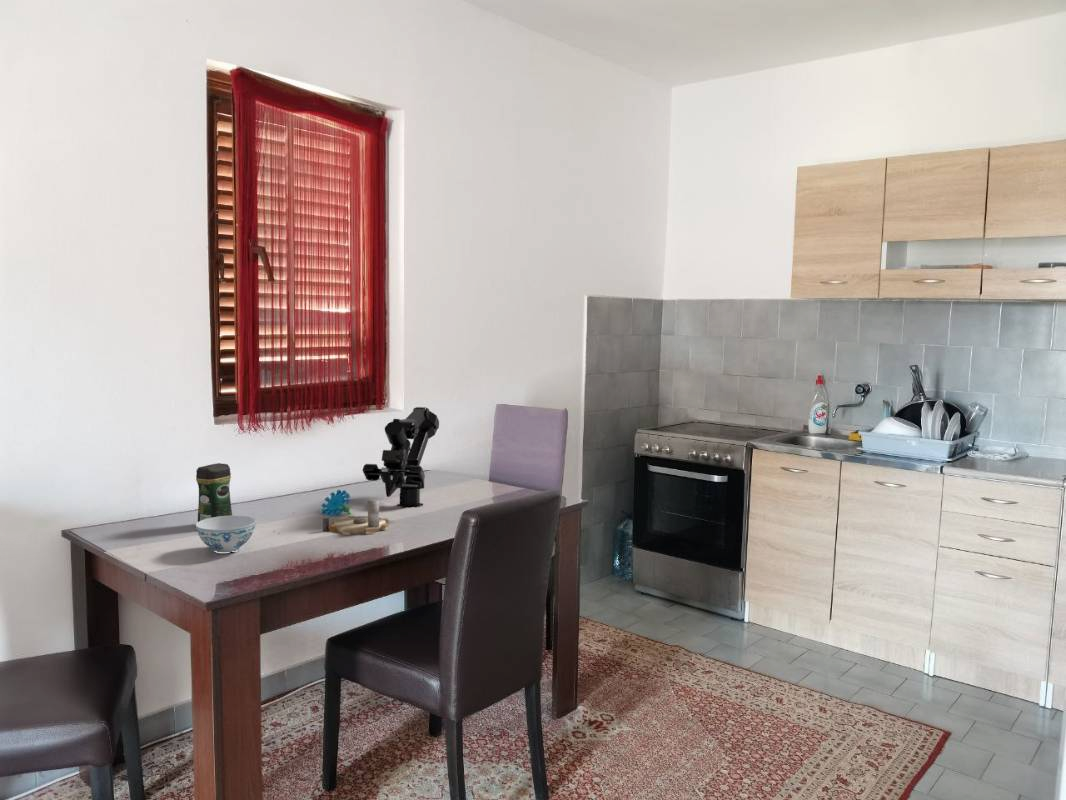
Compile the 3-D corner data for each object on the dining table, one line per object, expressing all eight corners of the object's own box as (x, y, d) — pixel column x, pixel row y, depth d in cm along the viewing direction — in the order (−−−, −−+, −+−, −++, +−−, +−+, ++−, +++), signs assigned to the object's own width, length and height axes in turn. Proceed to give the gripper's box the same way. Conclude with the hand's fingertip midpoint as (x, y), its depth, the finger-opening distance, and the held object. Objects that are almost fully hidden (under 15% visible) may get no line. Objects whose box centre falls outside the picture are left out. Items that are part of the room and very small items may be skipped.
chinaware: (237, 539, 228) (236, 512, 228) (267, 550, 219) (266, 521, 218) (185, 551, 217) (184, 522, 216) (215, 562, 207) (214, 532, 207)
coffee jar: (217, 520, 249) (216, 460, 247) (237, 523, 246) (235, 463, 244) (192, 527, 240) (190, 465, 239) (212, 530, 237) (210, 468, 235)
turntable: (318, 528, 240) (318, 498, 239) (362, 517, 253) (362, 489, 252) (357, 538, 230) (356, 506, 229) (400, 526, 243) (400, 496, 242)
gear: (314, 509, 258) (334, 484, 262) (324, 519, 262) (344, 495, 266) (335, 519, 252) (355, 494, 256) (345, 530, 256) (365, 505, 260)
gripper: (364, 438, 253) (351, 480, 244) (422, 440, 251) (411, 483, 241) (373, 458, 262) (361, 500, 252) (429, 461, 259) (419, 503, 250)
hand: (387, 496), depth 249 cm, fingers closed
